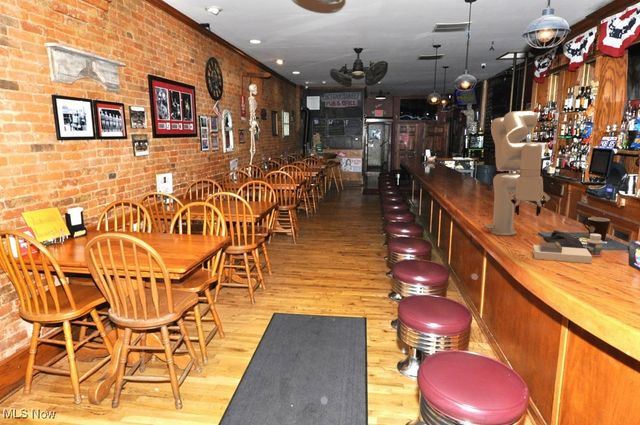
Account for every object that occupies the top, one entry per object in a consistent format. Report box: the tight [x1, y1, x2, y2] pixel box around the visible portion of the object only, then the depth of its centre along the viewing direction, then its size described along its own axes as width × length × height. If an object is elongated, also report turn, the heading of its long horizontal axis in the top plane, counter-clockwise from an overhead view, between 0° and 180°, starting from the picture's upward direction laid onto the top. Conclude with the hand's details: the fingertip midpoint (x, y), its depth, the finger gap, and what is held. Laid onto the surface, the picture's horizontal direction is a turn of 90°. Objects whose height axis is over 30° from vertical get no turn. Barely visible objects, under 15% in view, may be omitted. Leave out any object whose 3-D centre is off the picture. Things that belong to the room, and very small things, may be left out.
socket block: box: [532, 244, 593, 264], centre depth 165 cm, size 20×11×3 cm, turn 66°
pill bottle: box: [586, 234, 603, 258], centre depth 166 cm, size 5×5×9 cm
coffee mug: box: [582, 216, 611, 242], centre depth 190 cm, size 12×9×10 cm
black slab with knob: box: [543, 229, 587, 249], centre depth 183 cm, size 15×22×5 cm
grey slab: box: [539, 241, 562, 253], centre depth 166 cm, size 8×8×3 cm
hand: (527, 214), depth 168 cm, fingers open, 6 cm apart
